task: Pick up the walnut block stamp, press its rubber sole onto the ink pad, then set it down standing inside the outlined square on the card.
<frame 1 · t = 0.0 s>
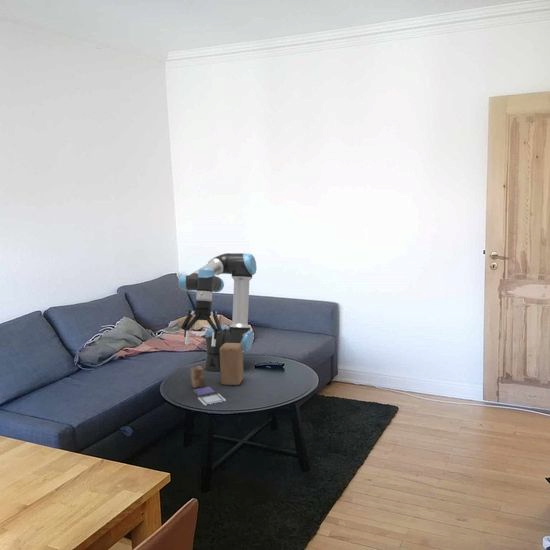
hand: (200, 345, 272), 28 cm above the table, tool tilted 20°, fingers open, 13 cm apart
print card: (211, 399, 279), on the table
stamp: (197, 386, 297), on the table
wooden block: (232, 382, 302), on the table
ink pad: (204, 392, 288), on the table
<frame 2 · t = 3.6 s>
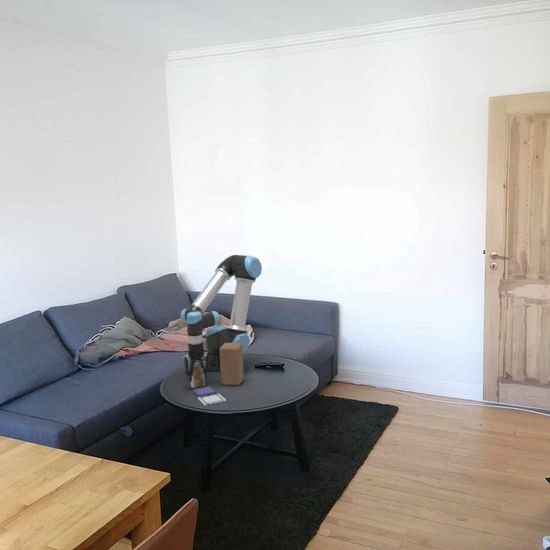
hand: (197, 386, 297), 0 cm above the table, tool pointing down, fingers closed on stamp, 5 cm apart
stamp: (197, 386, 297), on the table, touching gripper
everything else where it was.
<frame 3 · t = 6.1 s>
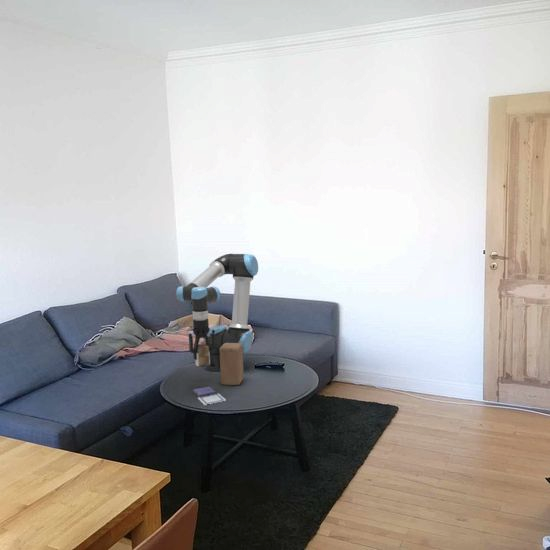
hand: (202, 364, 285), 15 cm above the table, tool pointing down, fingers closed on stamp, 5 cm apart
stamp: (202, 365, 286), point 14 cm above the table, touching gripper
everything else where it was.
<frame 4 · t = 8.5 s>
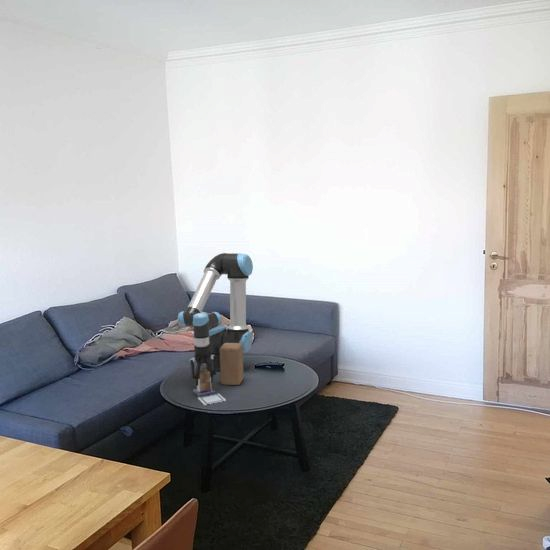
hand: (204, 389, 288), 2 cm above the table, tool pointing down, fingers closed on stamp, 5 cm apart
stamp: (204, 390, 288), point 1 cm above the table, touching gripper, ink pad
everything else where it was.
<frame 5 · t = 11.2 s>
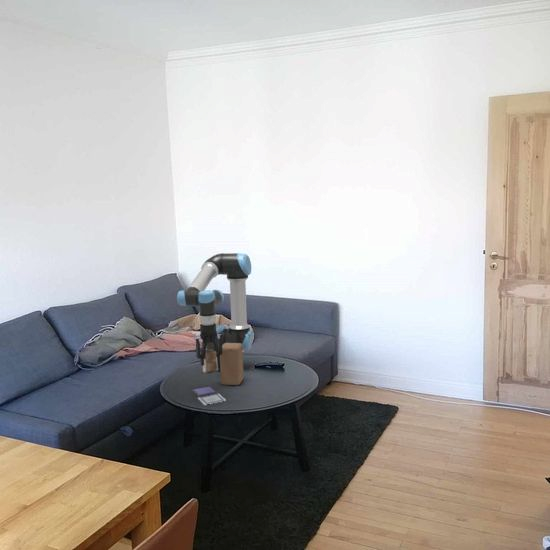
hand: (210, 370, 276), 15 cm above the table, tool pointing down, fingers closed on stamp, 5 cm apart
stamp: (210, 371, 276), point 14 cm above the table, touching gripper
everything else where it was.
when the fingers open (2 cm above the table, at t = 13.7 s): stamp stays where it is, resting on print card.
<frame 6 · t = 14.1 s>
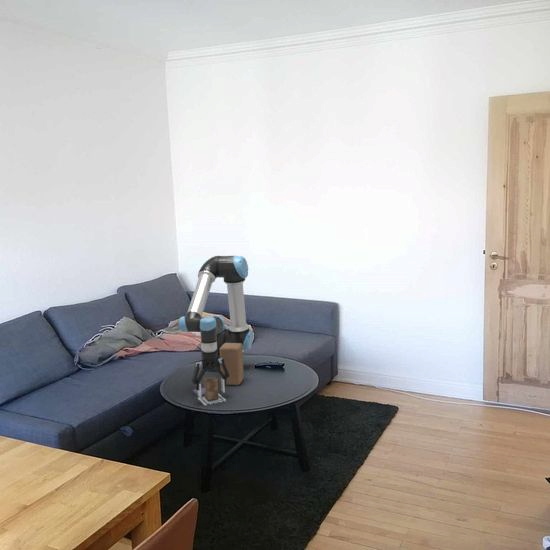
hand: (211, 393, 278), 3 cm above the table, tool pointing down, fingers open, 11 cm apart
stamp: (211, 399, 279), resting on print card
everything else where it was.
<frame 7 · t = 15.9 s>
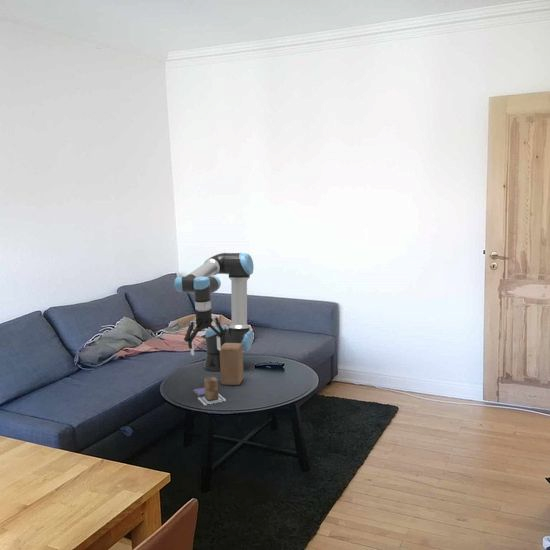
hand: (205, 352, 278), 23 cm above the table, tool pointing down, fingers open, 13 cm apart
nothing on the table moved.
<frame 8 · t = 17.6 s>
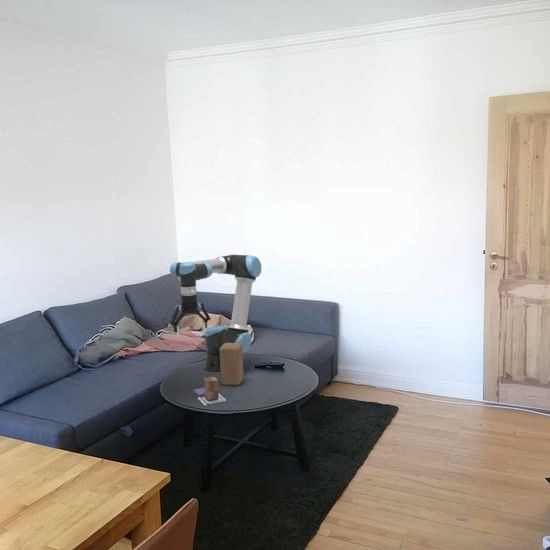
hand: (191, 336, 285), 29 cm above the table, tool pointing down, fingers open, 13 cm apart
nothing on the table moved.
at the end: stamp inside the target area on the print card (0.0 cm from its centre), point 0.4 cm above the print card's base; stamp tilted 0°; the gripper is holding nothing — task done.
